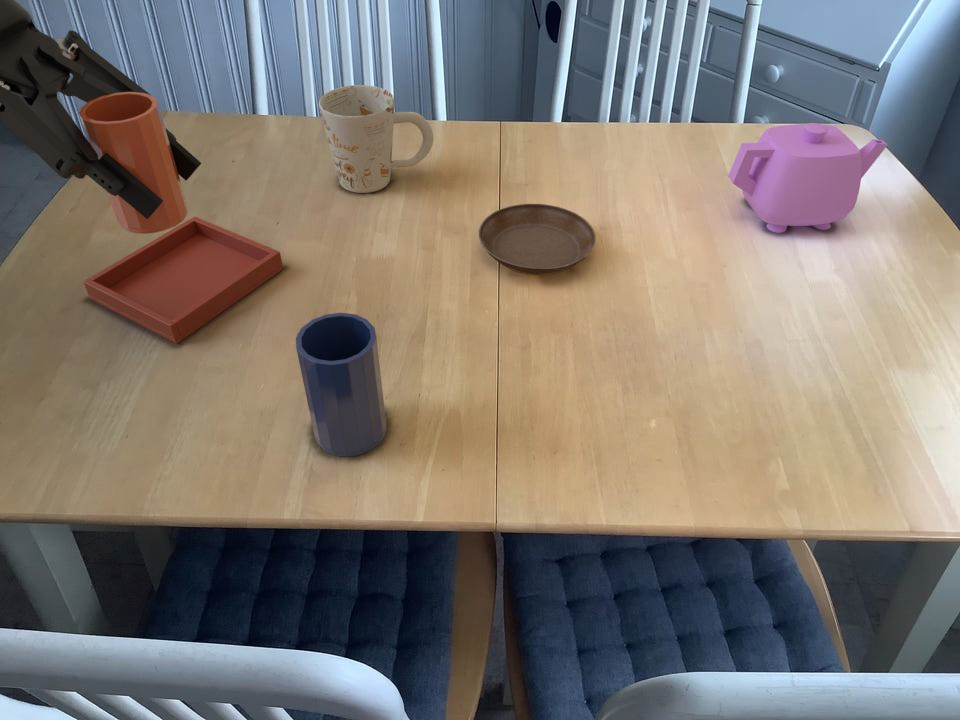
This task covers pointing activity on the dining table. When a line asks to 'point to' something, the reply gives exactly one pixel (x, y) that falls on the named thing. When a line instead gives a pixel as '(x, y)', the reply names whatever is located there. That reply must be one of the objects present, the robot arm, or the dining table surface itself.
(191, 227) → the red tray
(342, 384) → the blue tumbler
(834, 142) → the teapot
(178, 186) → the terracotta tumbler
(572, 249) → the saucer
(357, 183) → the mug
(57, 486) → the dining table surface
